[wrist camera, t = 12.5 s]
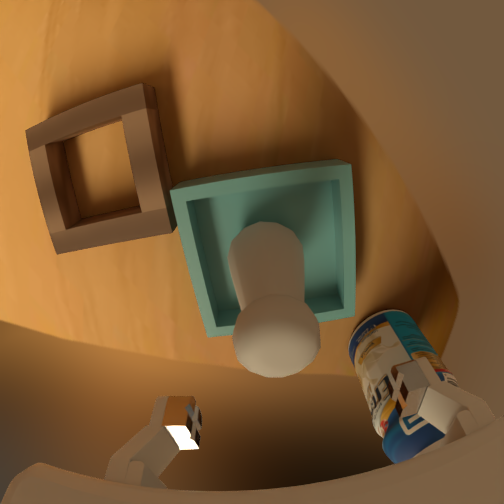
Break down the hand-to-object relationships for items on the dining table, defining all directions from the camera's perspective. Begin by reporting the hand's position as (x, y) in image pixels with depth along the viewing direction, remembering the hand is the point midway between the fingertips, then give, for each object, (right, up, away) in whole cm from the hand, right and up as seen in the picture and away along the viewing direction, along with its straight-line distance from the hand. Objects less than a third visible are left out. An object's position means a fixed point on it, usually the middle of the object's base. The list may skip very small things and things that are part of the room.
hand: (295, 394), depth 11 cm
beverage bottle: (+13, -4, +20) cm, 24 cm away
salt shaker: (-1, +6, +14) cm, 16 cm away
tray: (0, +6, +15) cm, 17 cm away
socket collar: (-14, +13, +12) cm, 23 cm away
